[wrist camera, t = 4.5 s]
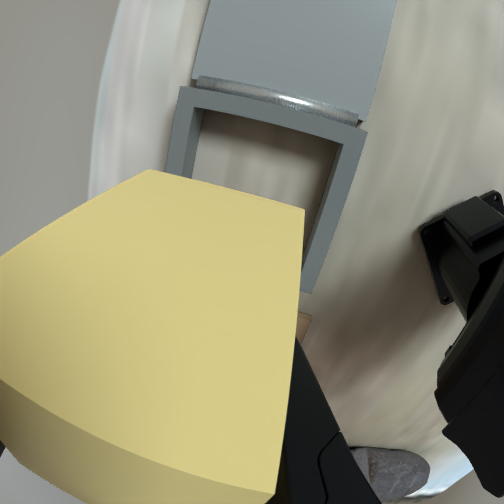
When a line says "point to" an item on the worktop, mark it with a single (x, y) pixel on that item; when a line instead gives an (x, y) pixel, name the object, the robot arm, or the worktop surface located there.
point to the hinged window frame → (289, 85)
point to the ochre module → (153, 344)
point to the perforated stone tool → (392, 471)
